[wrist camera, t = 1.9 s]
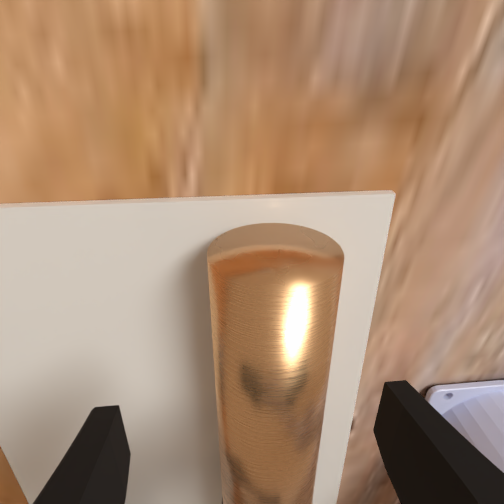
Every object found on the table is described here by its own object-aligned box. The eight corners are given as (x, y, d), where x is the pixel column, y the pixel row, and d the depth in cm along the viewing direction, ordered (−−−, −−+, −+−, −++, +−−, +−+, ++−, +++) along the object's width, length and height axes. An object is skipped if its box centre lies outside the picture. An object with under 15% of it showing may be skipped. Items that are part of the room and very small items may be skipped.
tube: (182, 240, 13) (253, 309, 10) (289, 213, 16) (377, 261, 12) (209, 521, 22) (252, 611, 19) (275, 478, 24) (325, 551, 21)
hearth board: (391, 190, 15) (395, 193, 15) (324, 550, 29) (325, 556, 28) (-107, 207, 13) (-115, 211, 13) (72, 581, 27) (70, 588, 27)
